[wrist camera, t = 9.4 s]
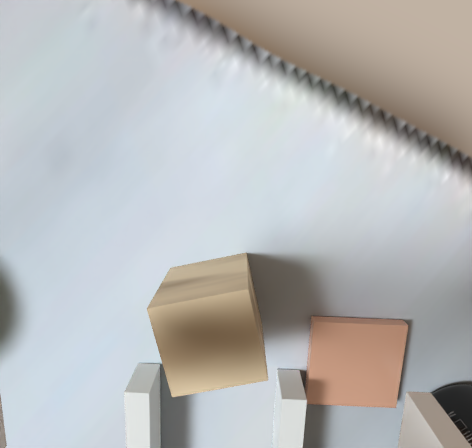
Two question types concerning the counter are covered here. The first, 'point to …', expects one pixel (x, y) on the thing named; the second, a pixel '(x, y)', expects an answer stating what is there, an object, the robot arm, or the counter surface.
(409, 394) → the robot arm
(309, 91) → the counter surface
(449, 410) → the supplement bottle
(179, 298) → the block
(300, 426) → the channel
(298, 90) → the counter surface
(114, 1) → the counter surface
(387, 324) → the tile
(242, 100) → the counter surface
